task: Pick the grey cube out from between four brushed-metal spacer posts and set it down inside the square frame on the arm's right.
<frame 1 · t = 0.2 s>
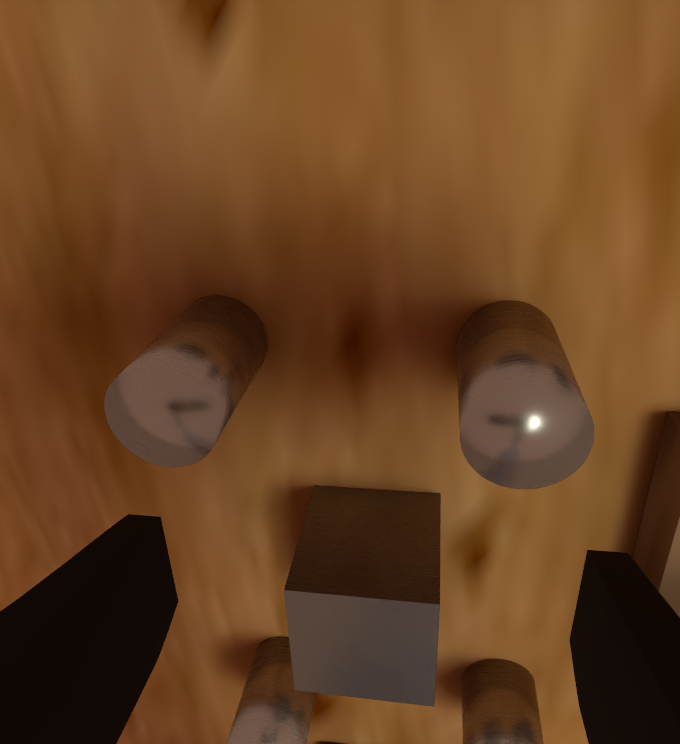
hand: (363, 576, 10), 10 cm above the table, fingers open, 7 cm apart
grey cube: (377, 536, 23), on the table
spacer b: (497, 683, 25), on the table
spacer c: (223, 338, 20), on the table
spacer a: (288, 660, 27), on the table
spacer d: (506, 347, 18), on the table
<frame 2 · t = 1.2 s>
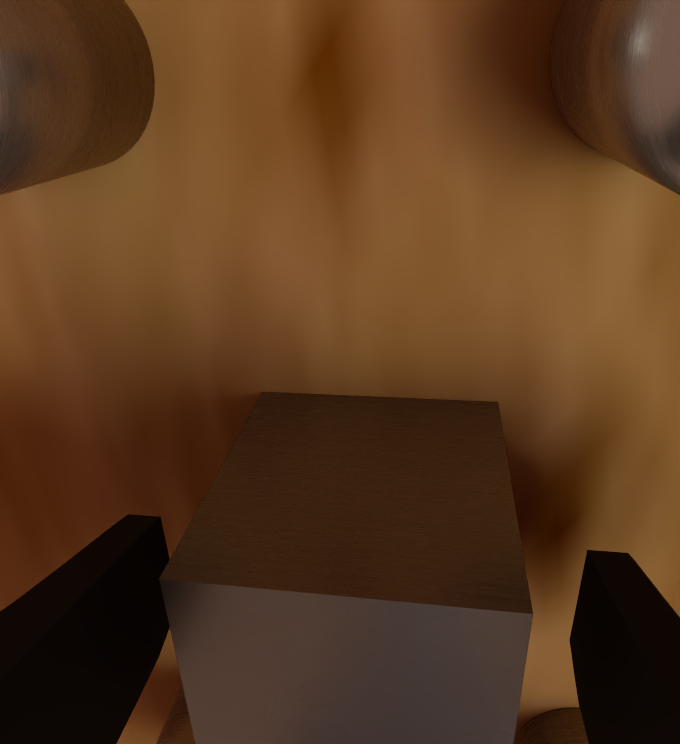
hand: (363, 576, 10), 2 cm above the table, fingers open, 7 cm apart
grey cube: (378, 490, 13), on the table
spacer c: (65, 70, 10), on the table
spacer a: (232, 704, 17), on the table
spacer d: (662, 46, 8), on the table
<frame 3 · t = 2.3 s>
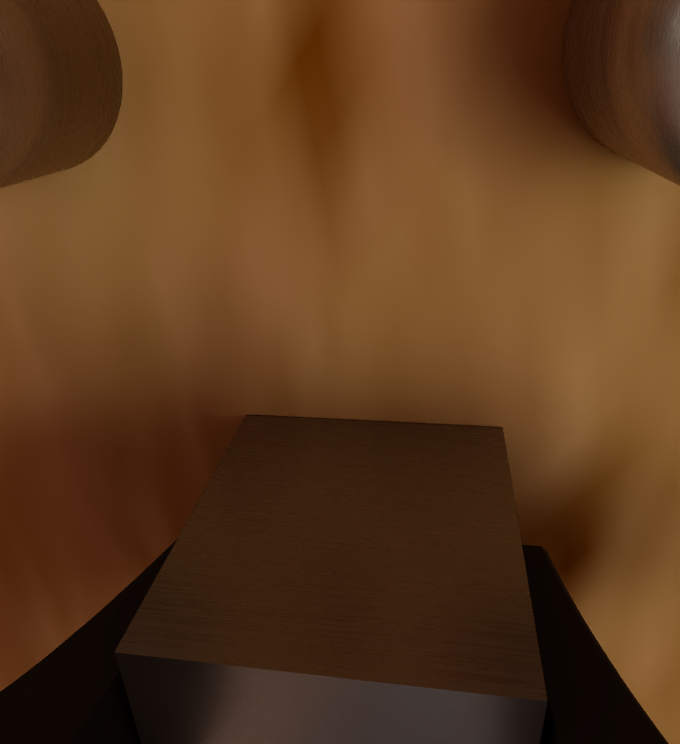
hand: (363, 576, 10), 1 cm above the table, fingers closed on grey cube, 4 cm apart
grey cube: (371, 521, 12), on the table, touching gripper
spacer c: (23, 63, 9), on the table
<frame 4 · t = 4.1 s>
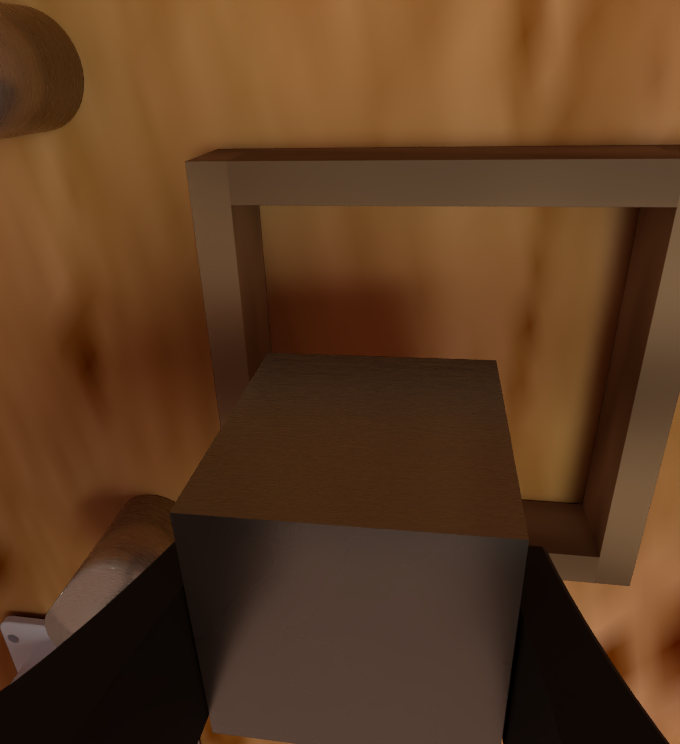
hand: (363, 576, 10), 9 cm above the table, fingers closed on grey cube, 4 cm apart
grey cube: (379, 452, 13), point 6 cm above the table, touching gripper
spacer b: (158, 526, 23), on the table
square frame: (433, 359, 18), on the table
spacer d: (30, 71, 16), on the table
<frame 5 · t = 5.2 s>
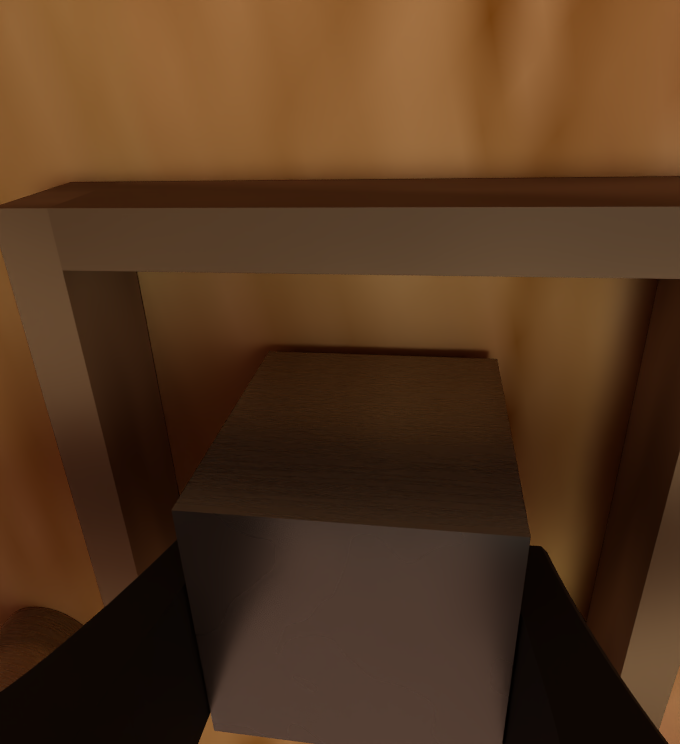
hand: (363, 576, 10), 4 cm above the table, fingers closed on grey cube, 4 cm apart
grey cube: (380, 450, 13), resting in square frame, touching gripper
spacer b: (53, 642, 18), on the table
square frame: (381, 457, 14), on the table
when the fingers open (3 cm above the table, at t = 6.2 s): grey cube stays where it is, resting in square frame.
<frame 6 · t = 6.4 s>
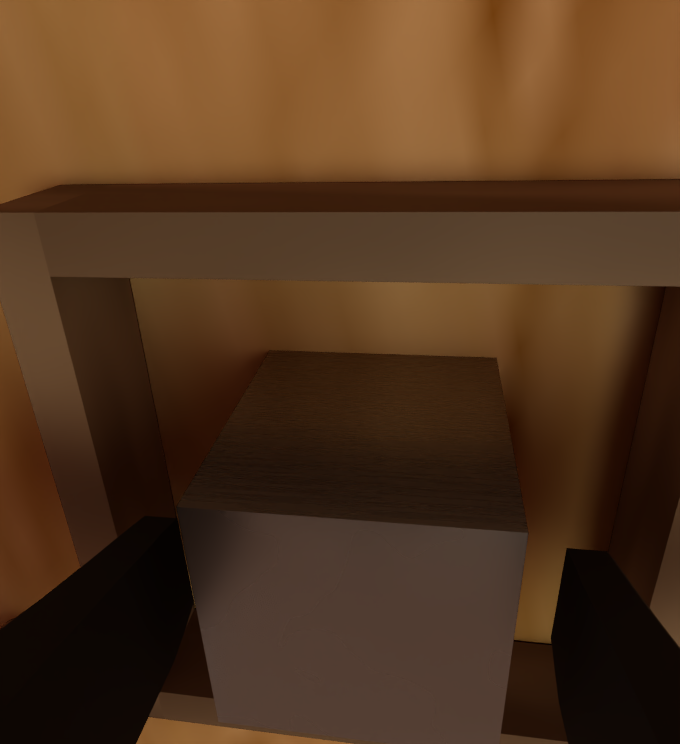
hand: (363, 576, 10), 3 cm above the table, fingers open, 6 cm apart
grey cube: (380, 447, 13), resting in square frame
square frame: (380, 466, 13), on the table
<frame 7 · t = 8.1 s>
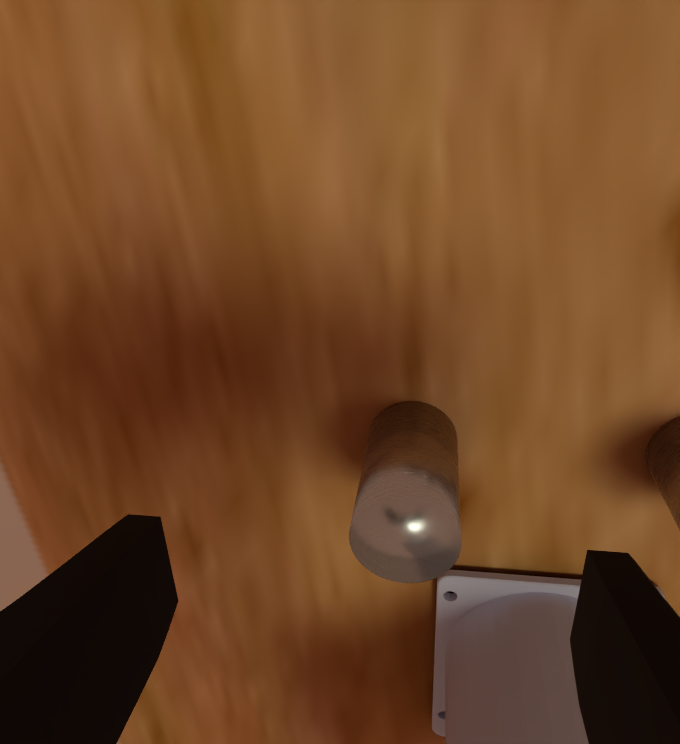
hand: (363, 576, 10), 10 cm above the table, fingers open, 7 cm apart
spacer a: (412, 439, 21), on the table
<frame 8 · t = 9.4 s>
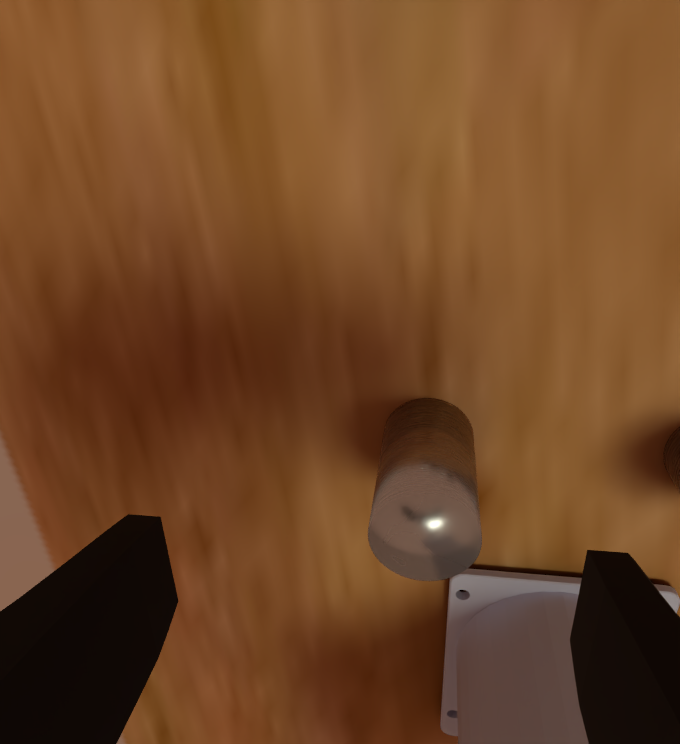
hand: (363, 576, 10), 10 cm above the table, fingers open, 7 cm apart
spacer a: (428, 437, 21), on the table
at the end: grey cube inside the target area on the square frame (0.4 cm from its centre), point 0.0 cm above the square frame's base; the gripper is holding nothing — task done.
